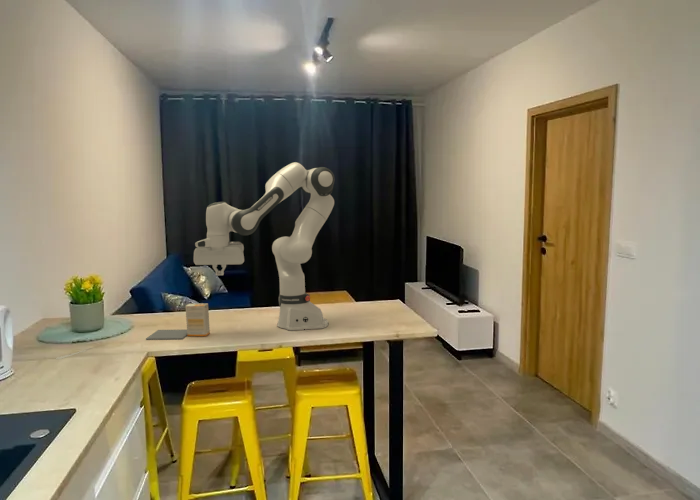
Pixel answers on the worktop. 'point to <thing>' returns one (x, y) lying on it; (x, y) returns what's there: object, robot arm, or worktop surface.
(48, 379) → the worktop surface
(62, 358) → the butter knife
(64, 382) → the worktop surface
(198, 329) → the supplement box
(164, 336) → the rubber mat
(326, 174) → the robot arm
